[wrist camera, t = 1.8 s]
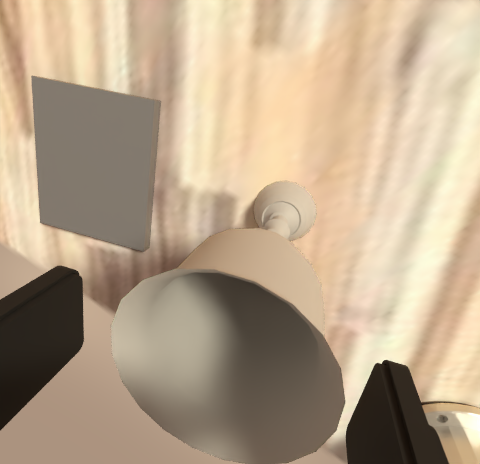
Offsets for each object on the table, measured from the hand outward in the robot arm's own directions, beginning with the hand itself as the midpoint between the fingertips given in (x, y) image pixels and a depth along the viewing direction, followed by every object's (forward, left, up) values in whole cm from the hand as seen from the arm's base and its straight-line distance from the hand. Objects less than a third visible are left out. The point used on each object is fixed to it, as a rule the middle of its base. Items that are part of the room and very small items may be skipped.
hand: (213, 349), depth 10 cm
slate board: (+17, 0, -17) cm, 24 cm away
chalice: (0, 0, -18) cm, 18 cm away
